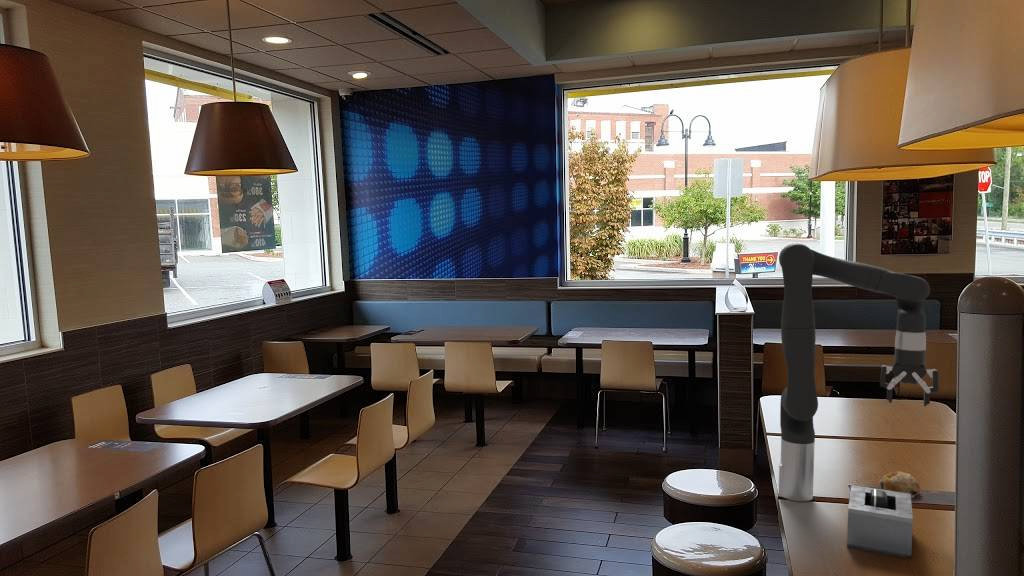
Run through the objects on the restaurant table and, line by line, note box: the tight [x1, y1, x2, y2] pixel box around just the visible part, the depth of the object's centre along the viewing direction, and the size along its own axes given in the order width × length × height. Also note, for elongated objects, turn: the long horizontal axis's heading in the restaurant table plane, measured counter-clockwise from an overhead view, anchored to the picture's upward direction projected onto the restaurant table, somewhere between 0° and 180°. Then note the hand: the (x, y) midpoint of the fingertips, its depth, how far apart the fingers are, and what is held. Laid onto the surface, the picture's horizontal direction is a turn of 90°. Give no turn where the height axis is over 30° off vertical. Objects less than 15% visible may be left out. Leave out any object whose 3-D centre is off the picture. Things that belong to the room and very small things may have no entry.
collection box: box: [846, 484, 914, 560], centre depth 179 cm, size 14×18×10 cm
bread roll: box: [879, 470, 921, 499], centre depth 211 cm, size 10×10×8 cm
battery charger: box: [871, 488, 888, 509], centre depth 179 cm, size 7×4×11 cm, turn 153°
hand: (907, 403), depth 197 cm, fingers open, 8 cm apart
